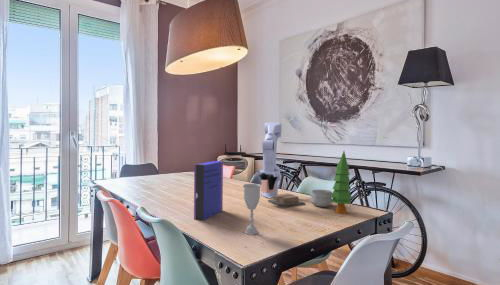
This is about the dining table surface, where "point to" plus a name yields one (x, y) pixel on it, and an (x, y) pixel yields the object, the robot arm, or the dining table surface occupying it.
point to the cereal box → (208, 189)
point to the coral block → (266, 186)
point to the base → (286, 200)
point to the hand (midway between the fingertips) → (268, 188)
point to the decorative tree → (341, 186)
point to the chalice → (251, 203)
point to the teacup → (321, 197)
